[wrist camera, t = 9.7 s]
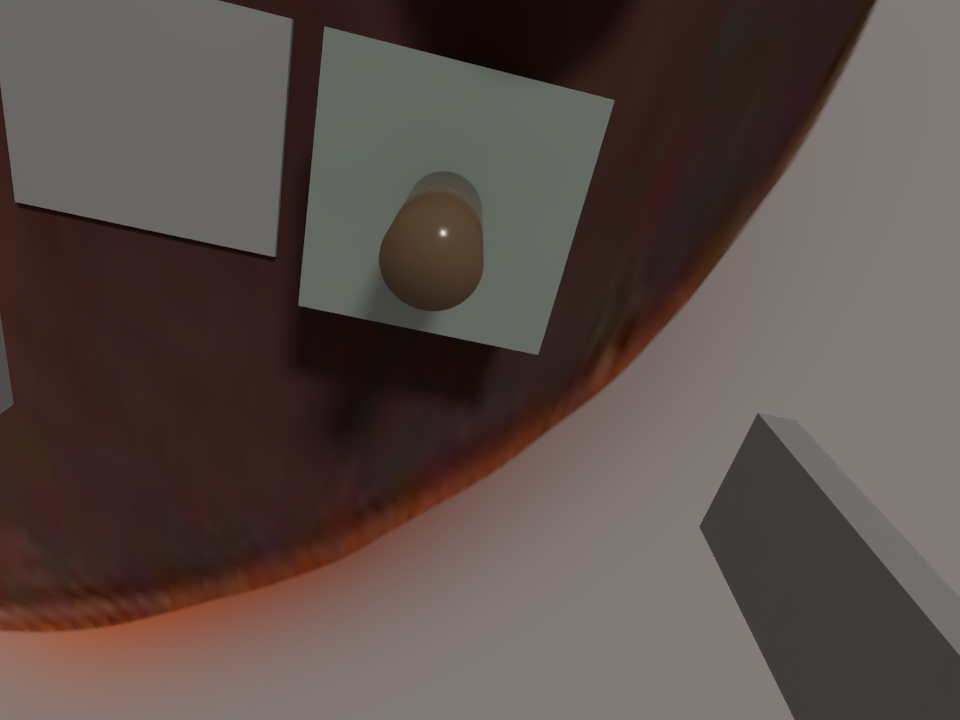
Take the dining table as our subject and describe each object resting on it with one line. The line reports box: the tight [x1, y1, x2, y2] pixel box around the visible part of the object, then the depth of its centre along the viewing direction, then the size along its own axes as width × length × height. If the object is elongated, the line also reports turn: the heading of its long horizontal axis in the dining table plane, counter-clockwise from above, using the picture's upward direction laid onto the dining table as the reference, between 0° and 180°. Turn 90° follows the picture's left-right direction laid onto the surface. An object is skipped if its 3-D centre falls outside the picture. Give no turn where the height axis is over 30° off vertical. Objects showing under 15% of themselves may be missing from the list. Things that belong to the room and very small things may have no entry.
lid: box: [298, 27, 615, 355], centre depth 23 cm, size 12×12×9 cm
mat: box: [0, 0, 294, 257], centre depth 30 cm, size 14×12×1 cm
